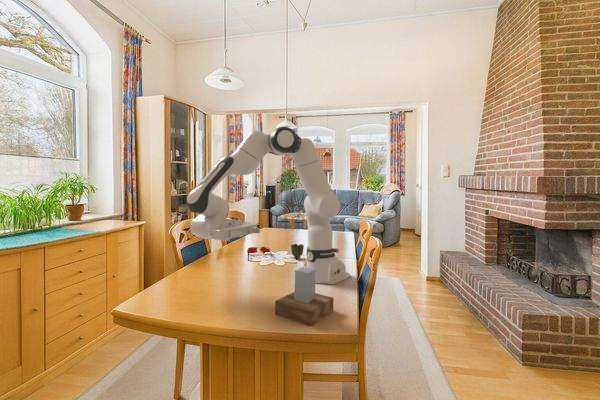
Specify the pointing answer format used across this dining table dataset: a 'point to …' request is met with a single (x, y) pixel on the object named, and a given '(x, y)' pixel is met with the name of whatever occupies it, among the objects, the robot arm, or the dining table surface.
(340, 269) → the robot arm
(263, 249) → the glasses
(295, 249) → the dark brown tapered lump
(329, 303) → the walnut block
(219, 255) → the dining table surface
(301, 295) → the slate block
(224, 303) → the dining table surface
